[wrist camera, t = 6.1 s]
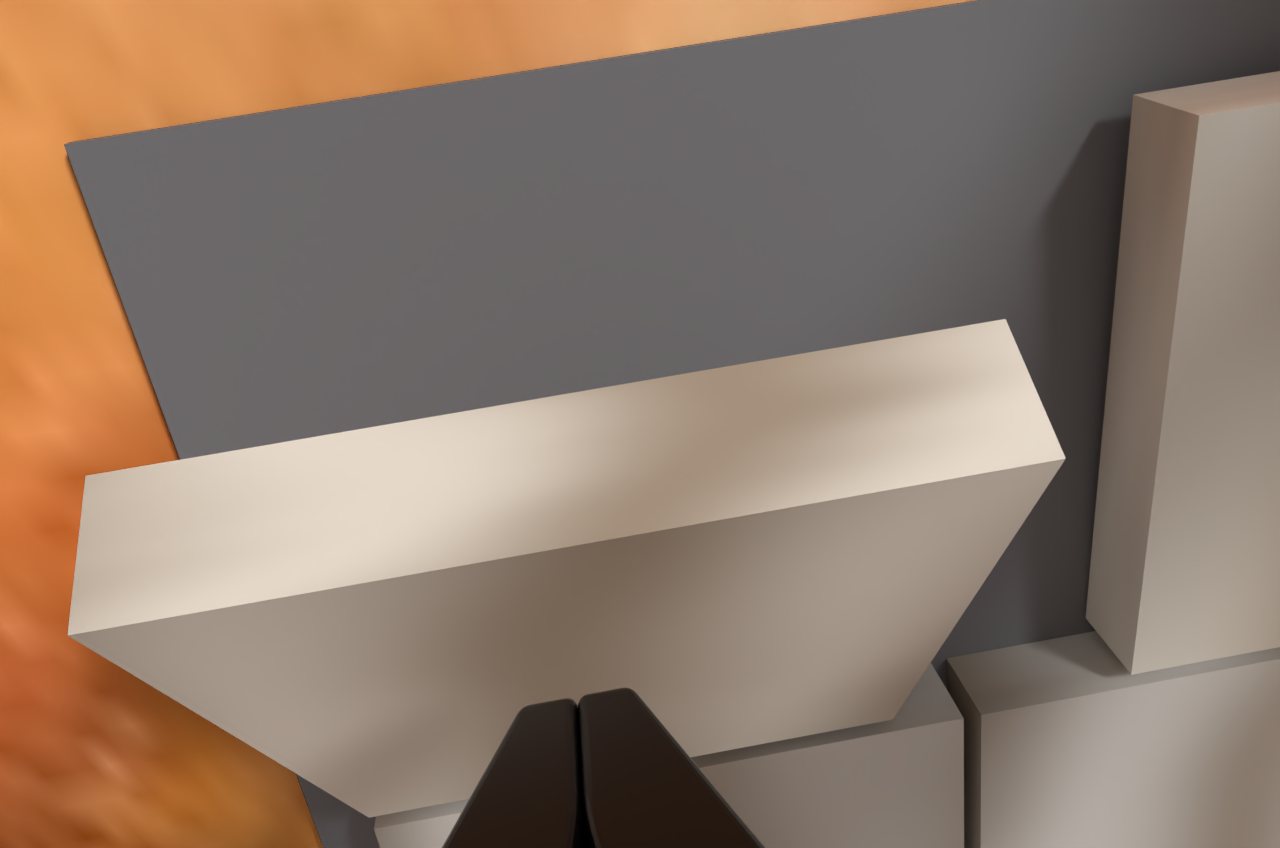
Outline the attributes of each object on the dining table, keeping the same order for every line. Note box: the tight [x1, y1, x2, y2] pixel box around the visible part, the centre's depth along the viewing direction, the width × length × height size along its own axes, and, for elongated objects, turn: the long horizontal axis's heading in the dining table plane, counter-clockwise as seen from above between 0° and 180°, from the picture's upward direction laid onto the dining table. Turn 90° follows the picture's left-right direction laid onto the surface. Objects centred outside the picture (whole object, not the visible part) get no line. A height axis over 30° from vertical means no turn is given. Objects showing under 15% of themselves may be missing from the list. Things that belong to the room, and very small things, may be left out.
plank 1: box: [68, 319, 1066, 818], centre depth 13 cm, size 8×9×2 cm
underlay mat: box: [64, 0, 1280, 848], centre depth 18 cm, size 24×22×1 cm
